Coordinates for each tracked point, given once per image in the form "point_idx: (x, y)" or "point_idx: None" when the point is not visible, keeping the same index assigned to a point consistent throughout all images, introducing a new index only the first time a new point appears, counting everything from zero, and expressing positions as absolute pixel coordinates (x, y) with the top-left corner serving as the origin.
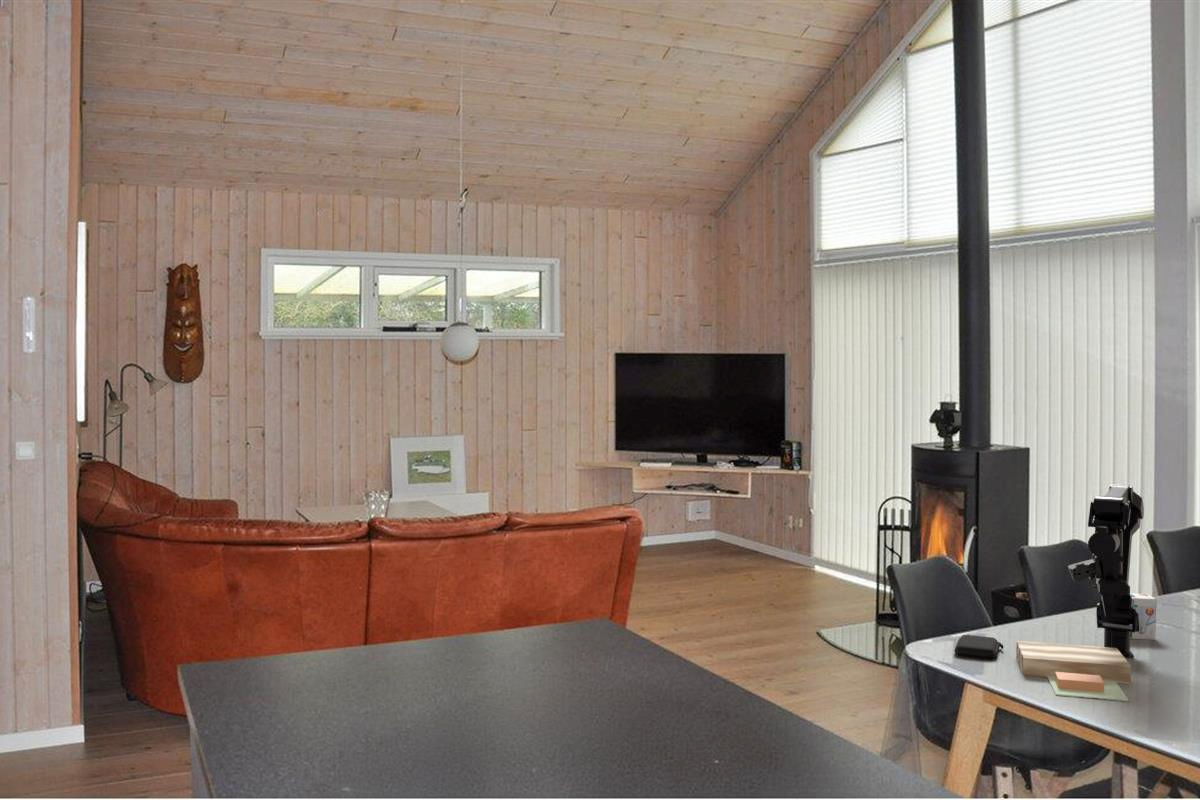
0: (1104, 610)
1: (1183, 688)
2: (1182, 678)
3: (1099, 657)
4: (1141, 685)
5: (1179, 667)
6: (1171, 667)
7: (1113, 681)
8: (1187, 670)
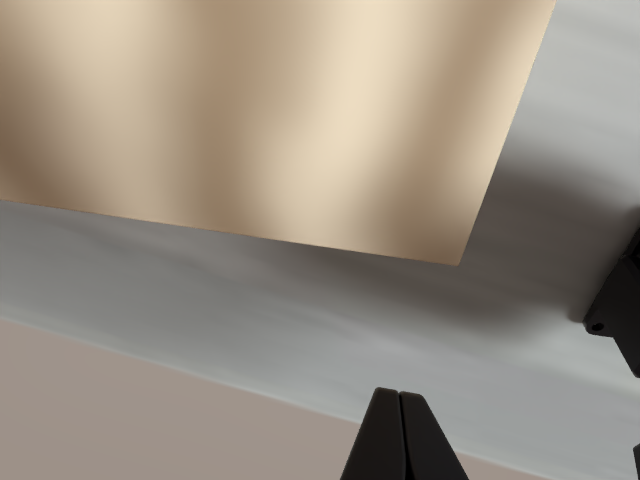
0: (379, 459)
1: (87, 327)
2: (246, 371)
3: (135, 55)
4: None
5: None
6: None
7: None
8: None
